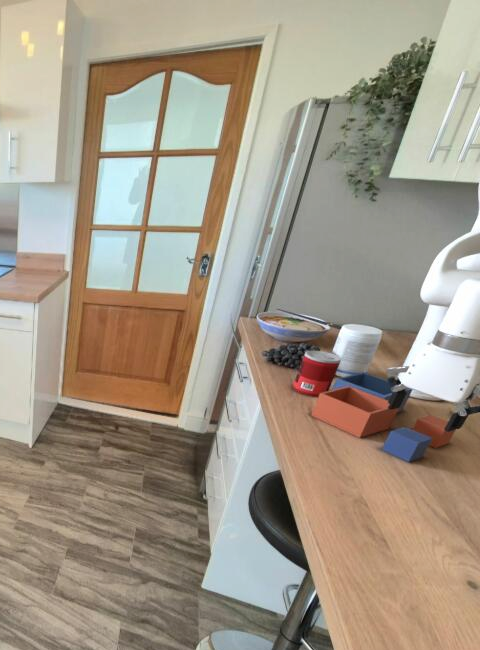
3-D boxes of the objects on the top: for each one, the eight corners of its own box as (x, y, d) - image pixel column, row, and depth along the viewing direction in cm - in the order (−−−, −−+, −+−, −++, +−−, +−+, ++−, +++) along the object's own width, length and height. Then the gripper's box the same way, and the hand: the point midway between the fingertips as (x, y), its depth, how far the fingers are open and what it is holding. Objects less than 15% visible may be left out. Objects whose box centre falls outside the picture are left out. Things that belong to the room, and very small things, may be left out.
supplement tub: (372, 378, 130) (393, 332, 123) (347, 381, 128) (367, 335, 121) (340, 366, 138) (358, 322, 132) (317, 368, 136) (334, 324, 130)
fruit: (266, 336, 137) (325, 345, 129) (267, 337, 144) (323, 346, 135) (258, 362, 139) (315, 373, 130) (259, 362, 146) (314, 372, 137)
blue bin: (354, 392, 122) (363, 372, 119) (401, 411, 112) (412, 389, 109) (327, 399, 118) (336, 378, 115) (374, 419, 109) (385, 396, 106)
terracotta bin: (339, 407, 114) (348, 385, 111) (389, 428, 105) (400, 405, 102) (310, 415, 110) (319, 393, 108) (359, 437, 101) (370, 414, 98)
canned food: (332, 398, 119) (347, 362, 114) (300, 395, 120) (313, 359, 115) (318, 386, 125) (331, 351, 120) (287, 383, 127) (300, 349, 122)
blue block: (395, 445, 98) (404, 426, 96) (422, 457, 94) (432, 438, 92) (381, 449, 97) (390, 431, 94) (408, 462, 92) (418, 443, 90)
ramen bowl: (234, 331, 169) (240, 311, 165) (281, 326, 174) (288, 306, 170) (291, 354, 147) (299, 332, 143) (343, 348, 152) (352, 326, 148)
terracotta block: (420, 432, 103) (430, 414, 101) (447, 443, 99) (458, 425, 96) (408, 436, 101) (417, 418, 99) (435, 448, 97) (445, 429, 95)
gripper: (535, 356, 78) (485, 436, 85) (417, 328, 92) (383, 398, 100) (513, 361, 75) (464, 443, 83) (395, 331, 90) (363, 403, 97)
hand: (420, 418), depth 91 cm, fingers open, 9 cm apart
